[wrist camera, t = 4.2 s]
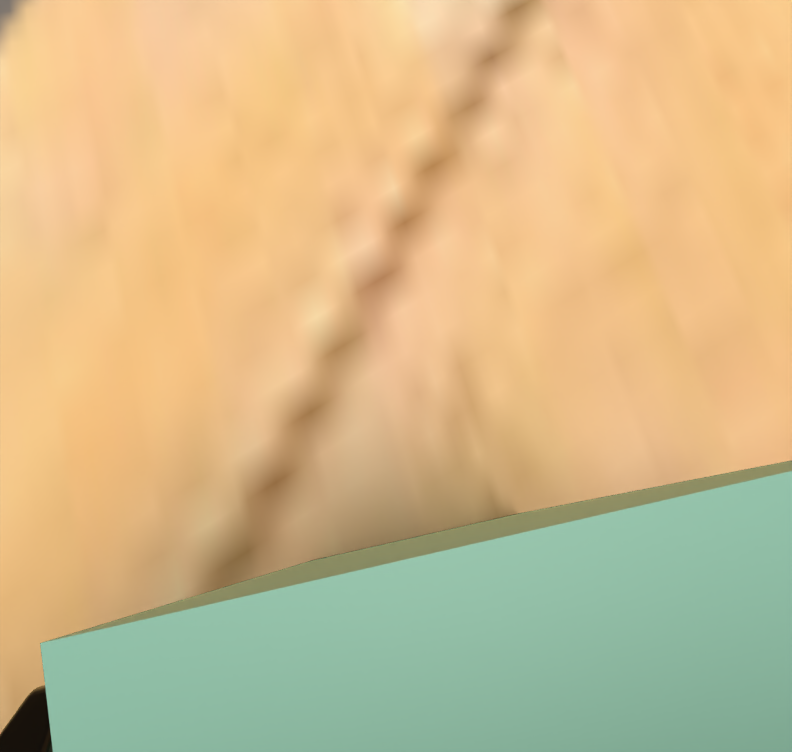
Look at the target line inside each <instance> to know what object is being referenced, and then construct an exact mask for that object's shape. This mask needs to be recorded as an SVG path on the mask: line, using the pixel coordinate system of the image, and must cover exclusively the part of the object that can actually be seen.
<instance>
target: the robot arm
mask: <svg viewBox="0 0 792 752" xmlns="http://www.w3.org/2000/svg"><path fill="white" fill-rule="evenodd" d="M0 752H53V749H52V740H51V731H50V723H49V714H48V705H47V697H46V688H45V685H44V686H41V687H38V688H36V689H35V690H33V691H32V692H31V693H30V694H29V695H28V696H27V698H26V699H25V701H24V702H23V703H22V705H21V706H20V707H19V709H18V710H17V712H16V713H15V714H14V716H13V717H12V718H11V720H10V721H9V723H8V724H7V725H6V727H5V728H4V730H3V731H2V732H1V734H0Z"/></svg>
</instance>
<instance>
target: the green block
mask: <svg viewBox="0 0 792 752" xmlns="http://www.w3.org/2000/svg"><path fill="white" fill-rule="evenodd" d="M40 645H41V653H42V662H43V671H44V679H45V688H46V697H47V705H48V714H49V723H50V731H51V740H52V749H53V752H792V461H787V462H782V463H777V464H771V465H766V466H761V467H756V468H751V469H746V470H741V471H735V472H730V473H725V474H720V475H715V476H710V477H704V478H699V479H694V480H689V481H684V482H679V483H674V484H668V485H663V486H658V487H653V488H648V489H643V490H637V491H632V492H627V493H622V494H617V495H612V496H607V497H601V498H596V499H591V500H586V501H581V502H576V503H571V504H565V505H560V506H555V507H550V508H545V509H540V510H534V511H529V512H524V513H519V514H515V515H510V516H506V517H501V518H497V519H493V520H488V521H484V522H479V523H475V524H471V525H466V526H462V527H457V528H453V529H449V530H444V531H440V532H435V533H431V534H427V535H422V536H418V537H413V538H409V539H405V540H400V541H396V542H391V543H387V544H383V545H378V546H374V547H369V548H365V549H361V550H356V551H352V552H347V553H343V554H339V555H334V556H330V557H325V558H321V559H317V560H312V561H309V562H305V563H302V564H299V565H296V566H292V567H289V568H286V569H282V570H279V571H276V572H273V573H269V574H266V575H263V576H259V577H256V578H253V579H250V580H246V581H243V582H240V583H236V584H233V585H230V586H227V587H223V588H220V589H217V590H213V591H210V592H207V593H204V594H200V595H197V596H194V597H190V598H187V599H184V600H181V601H177V602H174V603H171V604H168V605H164V606H161V607H158V608H154V609H151V610H148V611H145V612H141V613H138V614H135V615H131V616H128V617H125V618H122V619H118V620H115V621H112V622H108V623H105V624H102V625H99V626H95V627H92V628H89V629H85V630H82V631H79V632H76V633H72V634H69V635H66V636H62V637H59V638H56V639H53V640H49V641H46V642H43V643H40Z"/></svg>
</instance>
